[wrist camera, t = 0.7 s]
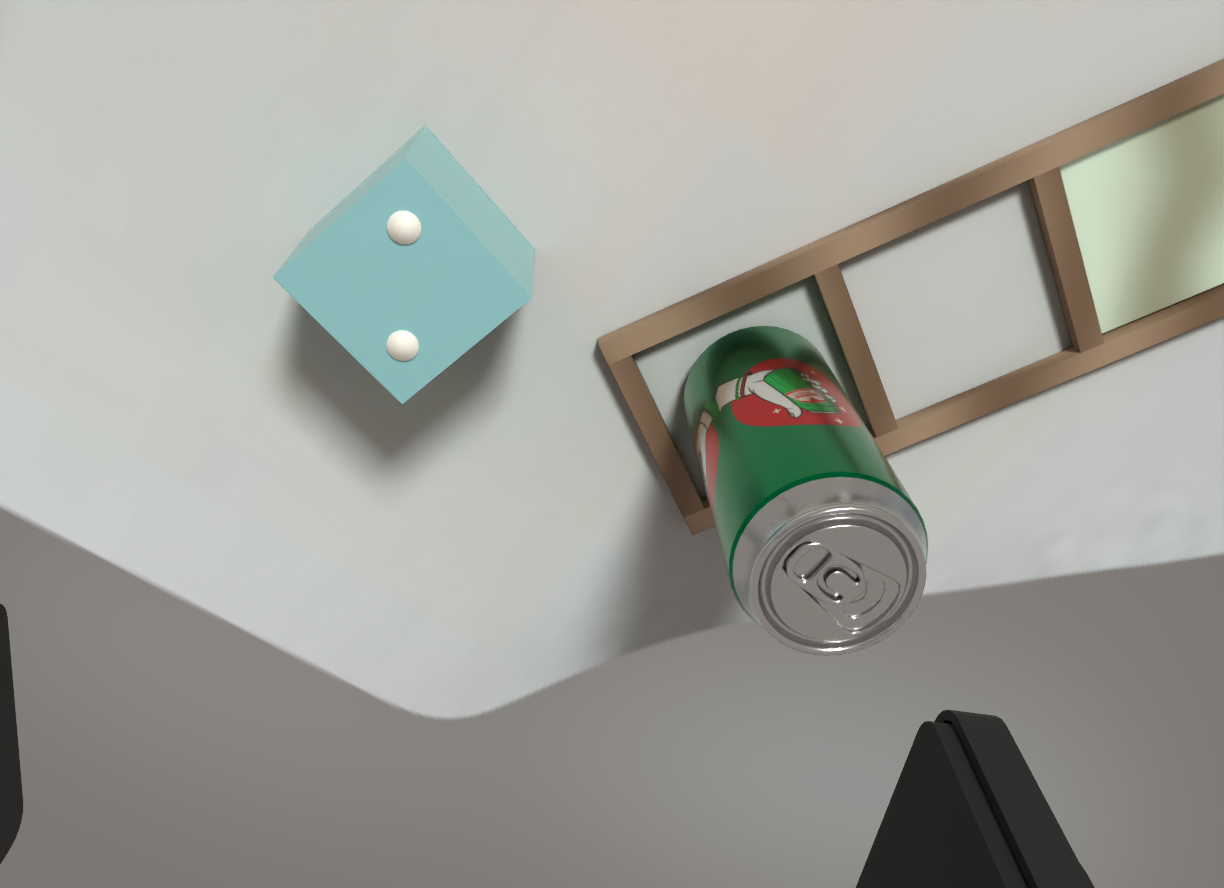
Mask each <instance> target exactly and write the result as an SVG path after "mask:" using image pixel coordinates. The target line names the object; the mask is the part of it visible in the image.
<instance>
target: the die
mask: <svg viewBox="0 0 1224 888" xmlns="http://www.w3.org/2000/svg"><path fill="white" fill-rule="evenodd" d="M534 253H535V248H534V247H533V246H532V245H531V244H530V243H529V241H528V240H527V239H526V238H525V237H524V236H523V235H522V233H521V232H520V231H519V230H518V229H517V228H516V227H515V226H514V224H513V223H512V222H511V221H510V220H509V219H508V218H507V217H506V215H505V214H504V213H503V212H502V211H501V210H500V209H499V207H498V206H497V205H496V204H495V203H494V202H493V201H492V200H491V198H490V197H489V196H488V195H487V194H486V193H485V192H484V191H483V189H482V188H481V187H480V186H479V185H478V184H477V183H476V181H475V180H474V179H473V178H472V177H471V176H470V175H469V174H468V172H467V171H466V170H465V169H464V168H463V167H462V166H461V165H460V163H459V162H458V161H457V160H456V159H455V158H454V157H453V155H452V154H451V153H450V152H449V151H448V150H447V149H446V148H445V146H444V145H443V144H442V143H441V142H440V141H439V140H438V138H437V137H436V136H435V135H434V134H433V133H432V132H431V131H430V129H429V128H428V127H427V126H426V125H425V126H424V127H423V128H422V129H421V130H420V131H418V132H417V133H416V134H415V135H414V136H413V137H412V138H411V139H410V140H409V141H407V142H406V143H405V144H404V145H403V146H402V147H401V148H400V149H399V150H398V151H396V152H395V153H394V154H393V155H392V156H391V157H390V158H389V159H388V160H386V161H385V162H384V163H383V164H382V165H381V166H380V167H379V168H378V169H377V170H375V171H374V172H373V173H372V174H371V175H370V176H369V177H368V178H367V179H366V180H364V181H363V182H362V183H361V184H360V185H359V186H358V187H357V188H356V189H355V190H353V191H352V192H351V193H350V194H349V195H348V196H347V197H346V198H345V199H343V200H342V201H341V202H340V203H339V204H338V205H337V206H336V207H335V208H334V209H332V210H331V211H330V212H329V213H328V214H327V215H326V216H325V217H324V218H323V219H321V220H320V221H319V222H318V223H317V224H316V225H315V226H314V227H313V228H311V229H310V230H309V232H308V233H307V234H306V235H305V237H304V238H303V239H302V241H301V242H300V243H299V244H298V246H297V247H296V248H295V249H294V251H293V252H292V253H291V255H290V256H289V257H288V258H287V260H286V261H285V262H284V263H283V265H282V266H281V267H280V269H279V270H278V271H277V272H276V274H275V275H274V276H273V277H272V278H273V279H274V280H275V281H277V282H278V283H279V284H280V285H281V286H282V287H283V288H284V289H285V290H286V291H287V292H288V293H289V294H290V295H291V296H292V297H293V298H294V299H295V300H296V301H297V302H298V303H299V304H300V305H301V306H302V307H303V308H304V309H305V310H306V311H307V312H308V313H309V314H310V315H311V316H312V317H313V318H314V319H315V320H316V321H317V322H318V323H319V324H320V325H321V326H323V327H324V328H325V329H326V330H327V331H328V332H329V333H330V334H331V335H332V336H333V337H334V338H335V339H336V340H337V341H338V342H339V343H340V344H341V345H342V346H343V347H344V348H345V349H346V350H347V351H348V352H349V353H350V354H351V355H352V356H353V357H354V358H355V359H356V360H357V361H358V362H359V363H360V364H361V365H362V366H363V367H364V368H365V369H366V370H367V371H369V372H370V373H371V374H372V375H373V376H374V377H375V378H376V379H377V380H378V381H379V382H380V383H381V384H382V385H383V386H384V387H385V388H386V389H387V390H388V391H389V392H390V393H391V394H392V395H393V396H394V397H395V398H396V399H397V400H398V401H399V402H400V403H401V404H403V403H405V402H406V401H407V400H408V399H409V398H411V397H412V396H413V395H414V394H415V393H417V392H418V391H419V390H420V389H422V388H423V387H424V386H425V385H426V384H428V383H429V382H430V381H431V380H432V379H434V378H435V377H436V376H437V375H439V374H440V373H441V372H442V371H443V370H445V369H446V368H447V367H448V366H450V365H451V364H452V363H453V362H454V361H456V360H457V359H458V358H459V357H460V356H462V355H463V354H464V353H465V352H467V351H468V350H469V349H470V348H471V347H473V346H474V345H475V344H476V343H477V342H479V341H480V340H481V339H482V338H484V337H485V336H486V335H487V334H488V333H490V332H491V331H492V330H493V329H494V328H496V327H497V326H498V325H499V324H501V323H502V322H503V321H504V320H505V319H507V318H508V317H509V316H510V315H511V314H513V313H514V312H515V311H516V310H518V309H519V308H520V307H521V306H522V305H524V304H525V303H526V302H527V301H529V300H530V299H531V298H532V287H533V270H534Z"/></svg>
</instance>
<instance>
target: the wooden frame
mask: <svg viewBox="0 0 1224 888" xmlns="http://www.w3.org/2000/svg"><path fill="white" fill-rule="evenodd" d="M1027 180H1028V182H1029V186H1030V190H1031V193H1032V197H1033V201H1034V204H1035V208H1036V212H1037V215H1038V219H1039V223H1040V227H1041V230H1042V234H1043V238H1044V241H1045V245H1046V249H1047V252H1048V256H1049V260H1050V263H1051V267H1052V271H1053V275H1054V278H1055V282H1056V286H1057V289H1058V293H1059V297H1060V300H1061V304H1062V308H1063V311H1064V315H1065V319H1066V323H1067V326H1068V330H1069V334H1070V337H1071V341H1072V345H1073V347H1071V348H1069V349H1066V350H1064V351H1062V352H1059V353H1057V354H1054V355H1052V356H1050V357H1047V358H1045V359H1042V360H1040V361H1037V362H1035V363H1033V364H1030V365H1028V366H1025V367H1023V368H1021V369H1018V370H1016V371H1013V372H1011V373H1009V374H1006V375H1004V376H1001V377H999V378H997V379H994V380H992V381H989V382H987V383H985V384H982V385H980V386H977V387H975V388H973V389H970V390H968V391H965V392H963V393H961V394H958V395H956V396H953V397H951V398H949V399H946V400H944V401H941V402H939V403H937V404H934V405H932V406H929V407H927V408H924V409H922V410H920V411H917V412H915V413H912V414H910V415H908V416H905V417H903V418H900V419H898V420H895V418H894V415H893V412H892V409H891V407H890V404H889V401H888V399H887V396H886V393H885V390H884V388H883V385H882V382H881V380H880V377H879V374H878V371H877V369H876V366H875V363H874V360H873V358H872V355H871V352H870V350H869V347H868V344H867V341H866V339H865V336H864V333H863V331H862V328H861V325H860V322H859V320H858V317H857V314H856V311H855V309H854V306H853V303H852V301H851V298H850V295H849V292H848V290H847V287H846V284H845V282H844V279H843V276H842V273H841V271H840V268H839V265H838V264H839V263H841V262H843V261H846V260H848V259H850V258H853V257H855V256H857V255H859V254H862V253H864V252H866V251H868V250H871V249H873V248H875V247H877V246H880V245H882V244H884V243H886V242H889V241H891V240H893V239H896V238H898V237H900V236H902V235H905V234H907V233H909V232H911V231H914V230H916V229H918V228H920V227H923V226H925V225H927V224H929V223H932V222H934V221H936V220H939V219H941V218H943V217H945V216H948V215H950V214H952V213H954V212H957V211H959V210H961V209H963V208H966V207H968V206H970V205H972V204H975V203H977V202H979V201H982V200H984V199H986V198H988V197H991V196H993V195H995V194H997V193H1000V192H1002V191H1004V190H1006V189H1009V188H1011V187H1013V186H1015V185H1018V184H1020V183H1022V182H1025V181H1027ZM812 275H813V276H814V279H815V282H816V284H817V287H818V290H819V292H820V295H821V297H822V300H823V303H824V305H825V308H826V311H827V313H828V316H829V318H830V321H831V324H832V326H833V329H834V332H835V334H836V337H837V339H838V342H839V345H840V347H841V350H842V353H843V355H844V358H845V360H846V363H847V366H848V368H849V371H850V374H851V376H852V379H853V381H854V384H855V387H856V389H857V392H858V395H859V397H860V400H861V402H862V405H863V408H864V410H865V413H866V416H867V418H868V421H869V424H870V426H871V429H872V431H869V432H870V434H871V435H872V437H873V438H874V440H875V442H876V443H877V445H878V446H879V448H880V450H881V451H882V453H883V454H884V456H885V455H888V454H890V453H893V452H895V451H898V450H900V449H902V448H905V447H907V446H910V445H912V444H915V443H917V442H919V441H922V440H924V439H927V438H929V437H932V436H934V435H936V434H939V433H941V432H944V431H946V430H949V429H951V428H953V427H956V426H958V425H961V424H963V423H966V422H968V421H970V420H973V419H975V418H978V417H980V416H983V415H985V414H987V413H990V412H992V411H995V410H997V409H1000V408H1002V407H1004V406H1007V405H1009V404H1012V403H1014V402H1017V401H1019V400H1021V399H1024V398H1026V397H1029V396H1031V395H1034V394H1036V393H1038V392H1041V391H1043V390H1046V389H1048V388H1051V387H1053V386H1056V385H1058V384H1060V383H1063V382H1065V381H1068V380H1070V379H1073V378H1075V377H1077V376H1080V375H1082V374H1085V373H1087V372H1090V371H1092V370H1094V369H1097V368H1099V367H1102V366H1104V365H1107V364H1109V363H1111V362H1114V361H1116V360H1119V359H1121V358H1124V357H1126V356H1128V355H1131V354H1133V353H1136V352H1138V351H1141V350H1143V349H1145V348H1148V347H1150V346H1153V345H1155V344H1158V343H1160V342H1162V341H1165V340H1167V339H1170V338H1172V337H1175V336H1177V335H1179V334H1182V333H1184V332H1187V331H1189V330H1192V329H1194V328H1196V327H1199V326H1201V325H1204V324H1206V323H1209V322H1211V321H1213V320H1216V319H1218V318H1221V317H1223V316H1224V284H1223V283H1224V59H1222V60H1220V61H1218V62H1216V63H1213V64H1211V65H1209V66H1207V67H1204V68H1202V69H1200V70H1198V71H1196V72H1193V73H1191V74H1189V75H1187V76H1184V77H1182V78H1180V79H1178V80H1175V81H1173V82H1171V83H1169V84H1166V85H1164V86H1162V87H1160V88H1157V89H1155V90H1153V91H1151V92H1149V93H1146V94H1144V95H1142V96H1140V97H1137V98H1135V99H1133V100H1131V101H1128V102H1126V103H1124V104H1122V105H1119V106H1117V107H1115V108H1113V109H1110V110H1108V111H1106V112H1104V113H1101V114H1099V115H1097V116H1095V117H1093V118H1090V119H1088V120H1086V121H1084V122H1081V123H1079V124H1077V125H1075V126H1072V127H1070V128H1068V129H1066V130H1063V131H1061V132H1059V133H1057V134H1054V135H1052V136H1050V137H1048V138H1045V139H1043V140H1041V141H1039V142H1037V143H1034V144H1032V145H1030V146H1028V147H1025V148H1023V149H1021V150H1019V151H1016V152H1014V153H1012V154H1010V155H1007V156H1005V157H1003V158H1001V159H998V160H996V161H994V162H992V163H989V164H987V165H985V166H983V167H981V168H978V169H976V170H974V171H972V172H969V173H967V174H965V175H963V176H960V177H958V178H956V179H954V180H951V181H949V182H947V183H945V184H942V185H940V186H938V187H936V188H934V189H931V190H929V191H927V192H925V193H922V194H920V195H918V196H916V197H913V198H911V199H909V200H907V201H904V202H902V203H900V204H898V205H895V206H893V207H891V208H889V209H886V210H884V211H882V212H880V213H878V214H875V215H873V216H871V217H869V218H866V219H864V220H862V221H860V222H857V223H855V224H853V225H851V226H848V227H846V228H844V229H842V230H839V231H837V232H835V233H833V234H830V235H828V236H826V237H824V238H822V239H819V240H817V241H815V242H813V243H810V244H808V245H806V246H804V247H801V248H799V249H797V250H795V251H792V252H790V253H788V254H786V255H783V256H781V257H779V258H777V259H775V260H772V261H770V262H768V263H766V264H763V265H761V266H759V267H757V268H754V269H752V270H750V271H748V272H745V273H743V274H741V275H739V276H736V277H734V278H732V279H730V280H727V281H725V282H723V283H721V284H719V285H716V286H714V287H712V288H710V289H707V290H705V291H703V292H701V293H698V294H696V295H694V296H692V297H689V298H687V299H685V300H683V301H680V302H678V303H676V304H674V305H671V306H669V307H667V308H665V309H663V310H660V311H658V312H656V313H654V314H651V315H649V316H647V317H645V318H642V319H640V320H638V321H636V322H633V323H631V324H629V325H627V326H624V327H622V328H620V329H618V330H616V331H613V332H611V333H609V334H607V335H604V336H602V337H600V338H598V345H599V347H600V349H601V351H602V353H603V355H604V357H605V359H606V361H607V363H608V365H609V367H610V369H611V371H612V373H613V375H614V377H615V379H616V381H617V383H618V385H619V387H620V390H621V392H622V394H623V396H624V398H625V400H626V402H627V404H628V406H629V408H630V410H631V412H632V414H633V416H634V418H635V420H636V422H637V424H638V426H639V428H640V430H641V432H642V434H643V436H644V438H645V440H646V442H647V444H648V446H649V448H650V450H651V452H652V454H653V456H654V458H655V460H656V462H657V464H658V466H659V468H660V470H661V472H662V474H663V477H664V479H665V481H666V483H667V485H668V487H669V489H670V491H671V493H672V495H673V497H674V499H675V501H676V503H677V505H678V507H679V509H680V511H681V513H682V515H683V517H684V519H685V521H686V523H687V525H688V527H689V529H690V531H691V533H692V535H693V534H696V533H698V532H701V531H703V530H706V529H708V528H710V527H713V526H715V524H714V520H713V516H712V513H711V509H710V505H709V502H708V499H706V500H703V501H702V499H701V497H700V495H699V493H698V491H697V489H696V487H695V485H694V482H693V480H692V478H691V476H690V474H689V472H688V470H687V468H686V466H685V464H684V462H683V460H682V458H681V455H680V453H679V451H678V449H677V447H676V445H675V443H674V441H673V439H672V437H671V435H670V433H669V430H668V428H667V426H666V424H665V422H664V420H663V418H662V416H661V414H660V412H659V410H658V408H657V406H656V403H655V401H654V399H653V397H652V395H651V393H650V391H649V389H648V387H647V385H646V383H645V381H644V378H643V376H642V374H641V372H640V370H639V368H638V366H637V364H636V362H635V360H634V358H633V356H632V355H633V354H635V353H637V352H640V351H642V350H644V349H647V348H649V347H651V346H653V345H656V344H658V343H660V342H662V341H665V340H667V339H669V338H671V337H674V336H676V335H678V334H680V333H683V332H685V331H687V330H690V329H692V328H694V327H696V326H699V325H701V324H703V323H705V322H708V321H710V320H712V319H714V318H717V317H719V316H721V315H723V314H726V313H728V312H730V311H733V310H735V309H737V308H739V307H742V306H744V305H746V304H748V303H751V302H753V301H755V300H757V299H760V298H762V297H764V296H766V295H769V294H771V293H773V292H776V291H778V290H780V289H782V288H785V287H787V286H789V285H791V284H794V283H796V282H798V281H800V280H803V279H805V278H807V277H809V276H812ZM1220 284H1223V285H1220ZM1218 285H1220V286H1218ZM1215 286H1218V287H1215ZM1213 287H1215V288H1213ZM1211 288H1213V289H1211ZM1208 289H1211V290H1208ZM1206 290H1208V291H1206ZM1203 291H1206V292H1203ZM1201 292H1203V293H1201ZM1199 293H1201V294H1199ZM1196 294H1199V295H1196ZM1194 295H1196V296H1194ZM1191 296H1194V297H1191ZM1189 297H1191V298H1189ZM1187 298H1189V299H1187ZM1184 299H1187V300H1184ZM1182 300H1184V301H1182ZM1179 301H1182V302H1179ZM1177 302H1179V303H1177ZM1175 303H1177V304H1175ZM1172 304H1175V305H1172ZM1170 305H1172V306H1170ZM1167 306H1170V307H1167ZM1165 307H1167V308H1165ZM1163 308H1165V309H1163ZM1160 309H1163V310H1160ZM1158 310H1160V311H1158ZM1155 311H1158V312H1155ZM1153 312H1155V313H1153ZM1151 313H1153V314H1151ZM1148 314H1150V315H1148ZM1146 315H1148V316H1146ZM1143 316H1146V317H1143ZM1141 317H1143V318H1141ZM1139 318H1141V319H1139ZM1136 319H1138V320H1136ZM1134 320H1136V321H1134ZM1131 321H1134V322H1131ZM1129 322H1131V323H1129ZM1127 323H1129V324H1127ZM1124 324H1126V325H1124ZM1122 325H1124V326H1122ZM1119 326H1122V327H1119ZM1117 327H1119V328H1117ZM1115 328H1117V329H1115ZM1112 329H1114V330H1112ZM1110 330H1112V331H1110ZM1107 331H1110V332H1107ZM1105 332H1107V333H1105ZM1103 333H1105V334H1103Z"/></svg>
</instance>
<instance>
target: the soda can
mask: <svg viewBox="0 0 1224 888" xmlns="http://www.w3.org/2000/svg"><path fill="white" fill-rule="evenodd" d="M684 410H685V415H686V420H687V423H688V427H689V431H690V434H691V438H692V442H693V446H694V449H695V453H696V457H697V461H698V464H699V468H700V472H701V475H702V479H703V483H704V487H705V490H706V494H707V498H708V502H709V505H710V509H711V513H712V516H713V520H714V524H715V528H716V531H717V535H718V539H719V543H720V546H721V550H722V554H723V558H724V561H725V565H726V569H727V572H728V576H729V580H730V584H731V587H732V589H733V592H734V595H735V597H736V599H737V601H738V602H739V604H740V605H741V607H742V609H743V610H744V611H745V612H746V613H747V614H748V615H749V616H750V618H751V619H752V620H754V621H755V622H756V623H758V624H759V625H760V626H762V627H763V628H765V629H766V630H767V631H768V633H769V634H770V635H771V636H773V637H774V638H775V639H777V640H778V641H779V642H781V643H782V644H784V645H786V646H788V647H790V648H792V649H795V650H798V651H801V652H805V653H810V654H815V655H839V654H840V655H841V654H846V653H851V652H855V651H858V650H861V649H865V648H867V647H869V646H872V645H874V644H876V643H878V642H880V641H882V640H883V639H885V638H886V637H888V636H890V635H891V634H892V633H893V632H895V631H896V630H897V629H898V628H899V627H901V626H902V625H903V623H904V622H905V621H906V620H907V619H908V618H909V617H910V615H911V614H912V612H913V611H914V610H915V608H916V607H917V604H918V602H919V600H920V598H921V596H922V593H923V589H924V586H925V580H926V562H927V553H928V539H927V532H926V528H925V525H924V521H923V519H922V517H921V515H920V513H919V511H918V509H917V508H916V506H915V504H914V503H913V501H912V500H911V498H910V496H909V495H908V493H907V492H906V490H905V488H904V487H903V485H902V483H901V482H900V480H899V479H898V477H897V475H896V474H895V472H894V471H893V469H892V467H891V466H890V464H889V463H888V461H887V459H886V458H885V456H884V454H883V453H882V451H881V450H880V448H879V446H878V445H877V443H876V442H875V440H874V438H873V437H872V435H871V434H870V432H869V430H868V429H867V427H866V425H865V424H864V422H863V421H862V419H861V417H860V416H859V414H858V413H857V411H856V409H855V408H854V406H853V405H852V403H851V401H850V400H849V398H848V396H847V395H846V393H845V392H844V390H843V388H842V387H841V385H840V384H839V382H838V380H837V379H836V377H835V376H834V374H833V372H832V371H831V369H830V367H829V366H828V364H827V363H826V361H825V359H824V358H823V356H822V355H821V354H820V352H819V351H818V350H817V348H816V347H815V346H814V345H812V344H811V343H810V342H809V341H808V340H807V339H805V338H803V337H802V336H800V335H799V334H796V333H794V332H792V331H789V330H787V329H783V328H779V327H771V326H756V327H749V328H744V329H740V330H738V331H735V332H732V333H729V334H728V335H726V336H724V337H722V338H720V339H719V340H717V341H716V342H715V343H713V344H712V345H710V346H709V347H708V348H707V349H706V350H705V351H704V352H703V353H702V354H701V355H700V357H699V358H698V360H697V361H696V362H695V364H694V365H693V367H692V369H691V371H690V373H689V375H688V378H687V381H686V384H685V390H684Z"/></svg>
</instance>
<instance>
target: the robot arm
mask: <svg viewBox="0 0 1224 888" xmlns="http://www.w3.org/2000/svg"><path fill="white" fill-rule="evenodd" d="M12 678H13V677H12V666H11V654H10V642H9V630H8V618H7V612H6V609H5V607H4V606H3V605H2V604H0V864H1V862H2V861H3V859H4V858H5V856H6V854H7V853H8V851H9V849H10V848H11V846H12V844H13V842H14V840H15V838H16V836H17V833H18V831H19V827H20V824H21V820H22V814H23V796H22V784H21V772H20V760H19V749H18V738H17V737H18V736H17V724H16V713H15V701H14V690H13V679H12ZM856 888H1094V886H1093V884H1092V882H1091V880H1090V879H1089V877H1088V875H1087V873H1086V872H1085V870H1084V869H1083V867H1082V866H1081V864H1080V863H1079V862H1078V860H1077V858H1076V856H1075V854H1074V852H1073V850H1072V848H1071V846H1070V844H1069V843H1068V841H1067V839H1066V837H1065V835H1064V833H1063V831H1062V829H1061V828H1060V826H1059V824H1058V822H1057V820H1056V818H1055V816H1054V814H1053V812H1052V811H1051V809H1050V807H1049V805H1048V803H1047V801H1046V799H1045V798H1044V796H1043V794H1042V792H1041V790H1040V788H1039V786H1038V784H1037V782H1036V780H1035V779H1034V777H1033V775H1032V773H1031V771H1030V769H1029V767H1028V765H1027V763H1026V762H1025V760H1024V758H1023V756H1022V754H1021V752H1020V750H1019V748H1018V746H1017V745H1016V743H1015V741H1014V739H1013V737H1012V735H1011V734H1010V731H1009V730H1008V728H1007V726H1006V725H1005V723H1004V722H1003V720H1002V719H1000V718H999V717H997V716H992V715H985V714H984V715H983V714H976V713H969V712H961V711H953V710H945V711H942V712H941V713H940V714H939V715H938V716H937V718H936V720H935V722H930V721H927V722H924V723H923V724H922V725H921V726H920V728H919V730H918V732H917V735H916V737H915V740H914V742H913V745H912V747H911V750H910V752H909V755H908V757H907V760H906V762H905V765H904V767H903V770H902V772H901V775H900V778H899V780H898V783H897V785H896V788H895V790H894V793H893V795H892V798H891V800H890V803H889V806H888V808H887V810H886V813H885V815H884V818H883V821H882V823H881V825H880V828H879V830H878V833H877V836H876V838H875V841H874V843H873V846H872V848H871V851H870V853H869V856H868V858H867V861H866V863H865V866H864V869H863V871H862V874H861V876H860V878H859V881H858V884H857V886H856Z"/></svg>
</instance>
